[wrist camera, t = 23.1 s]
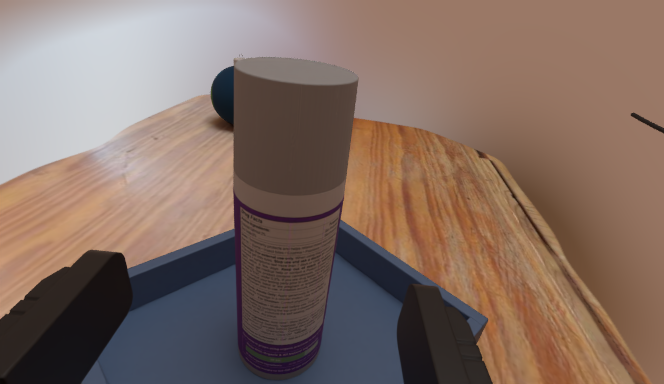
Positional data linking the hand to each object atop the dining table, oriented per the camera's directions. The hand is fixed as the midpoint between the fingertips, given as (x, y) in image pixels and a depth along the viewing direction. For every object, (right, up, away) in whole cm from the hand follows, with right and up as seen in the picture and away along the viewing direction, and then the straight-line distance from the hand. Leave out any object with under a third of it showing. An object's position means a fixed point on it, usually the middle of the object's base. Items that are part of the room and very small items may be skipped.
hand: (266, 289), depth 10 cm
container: (-1, -6, +10) cm, 12 cm away
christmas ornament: (-12, +13, +42) cm, 46 cm away
